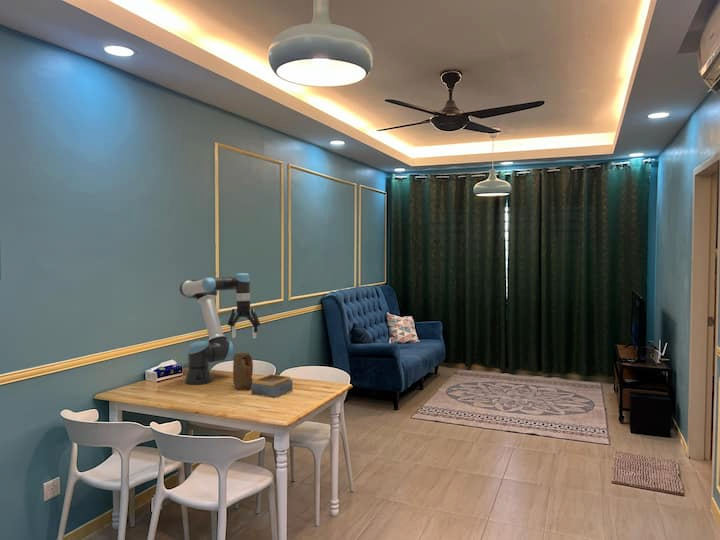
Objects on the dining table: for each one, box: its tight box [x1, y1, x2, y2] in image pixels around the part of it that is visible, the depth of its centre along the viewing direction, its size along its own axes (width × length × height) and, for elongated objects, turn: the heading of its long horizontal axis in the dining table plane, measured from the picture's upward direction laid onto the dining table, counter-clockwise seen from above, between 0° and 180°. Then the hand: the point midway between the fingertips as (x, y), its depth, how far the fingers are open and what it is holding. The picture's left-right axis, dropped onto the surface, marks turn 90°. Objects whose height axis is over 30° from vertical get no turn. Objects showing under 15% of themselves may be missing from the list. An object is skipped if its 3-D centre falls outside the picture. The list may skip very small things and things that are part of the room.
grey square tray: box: [250, 373, 293, 398], centre depth 293 cm, size 16×16×8 cm
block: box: [232, 352, 254, 391], centre depth 301 cm, size 11×8×20 cm
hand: (244, 338), depth 302 cm, fingers open, 13 cm apart
